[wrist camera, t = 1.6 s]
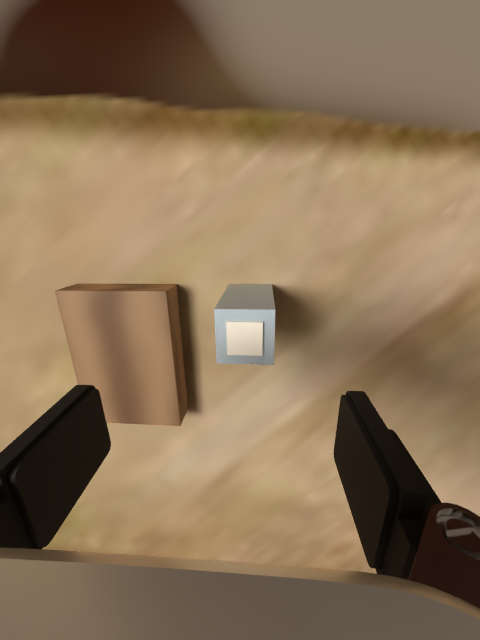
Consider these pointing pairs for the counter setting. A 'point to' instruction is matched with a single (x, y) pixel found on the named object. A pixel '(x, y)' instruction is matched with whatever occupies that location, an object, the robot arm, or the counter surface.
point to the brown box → (128, 349)
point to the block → (245, 325)
